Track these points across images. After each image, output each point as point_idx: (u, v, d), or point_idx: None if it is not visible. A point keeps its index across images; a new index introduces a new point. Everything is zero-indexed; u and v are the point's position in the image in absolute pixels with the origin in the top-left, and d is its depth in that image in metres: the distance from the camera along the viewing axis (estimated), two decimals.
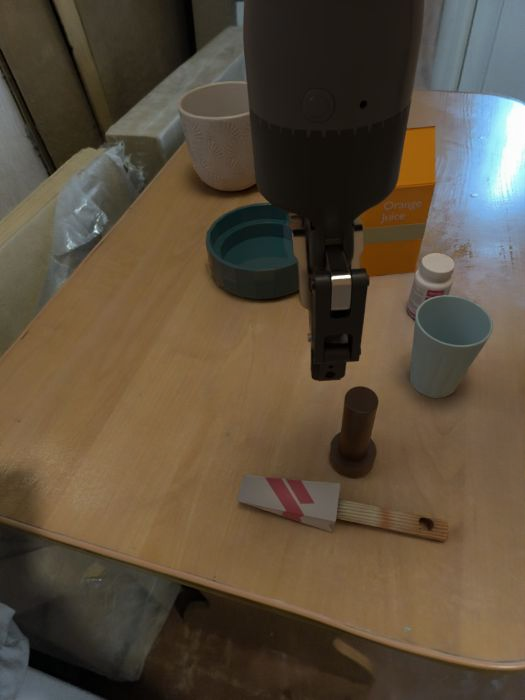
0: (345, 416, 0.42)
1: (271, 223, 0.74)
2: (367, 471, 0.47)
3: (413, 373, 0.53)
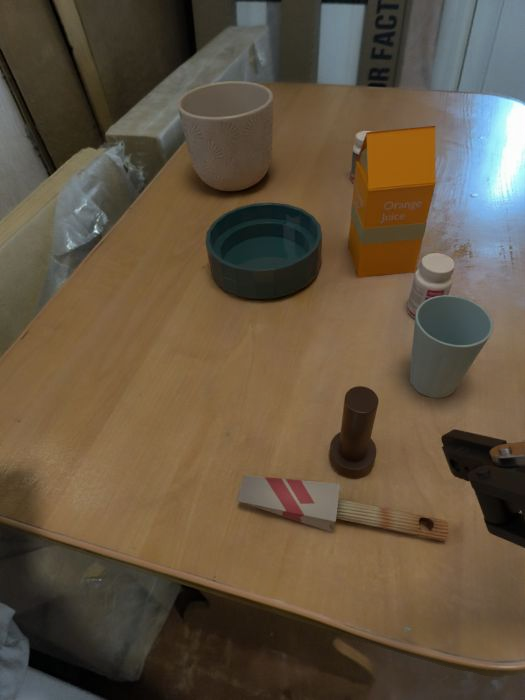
0: (345, 416, 0.42)
1: (271, 223, 0.74)
2: (367, 471, 0.47)
3: (413, 373, 0.53)
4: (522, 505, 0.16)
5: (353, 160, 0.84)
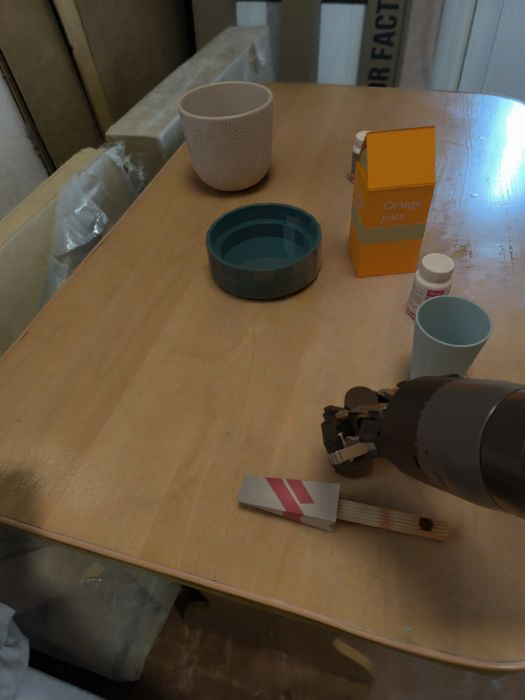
0: None
1: (271, 223, 0.74)
2: (367, 471, 0.47)
3: (413, 373, 0.53)
4: None
5: (353, 160, 0.84)
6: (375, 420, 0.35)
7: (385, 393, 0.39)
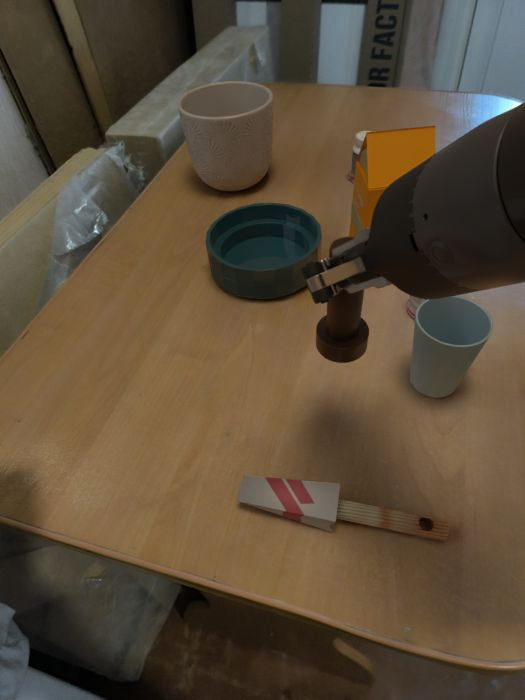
0: None
1: (271, 223, 0.74)
2: (359, 353, 0.41)
3: (413, 373, 0.53)
4: None
5: (353, 160, 0.84)
6: None
7: None
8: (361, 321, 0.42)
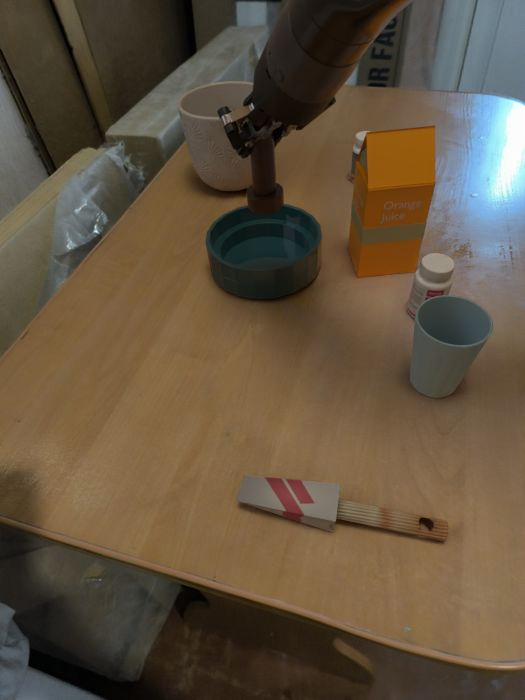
0: None
1: (271, 223, 0.74)
2: (275, 206, 0.58)
3: (413, 373, 0.53)
4: None
5: (353, 160, 0.84)
6: None
7: None
8: (278, 186, 0.59)
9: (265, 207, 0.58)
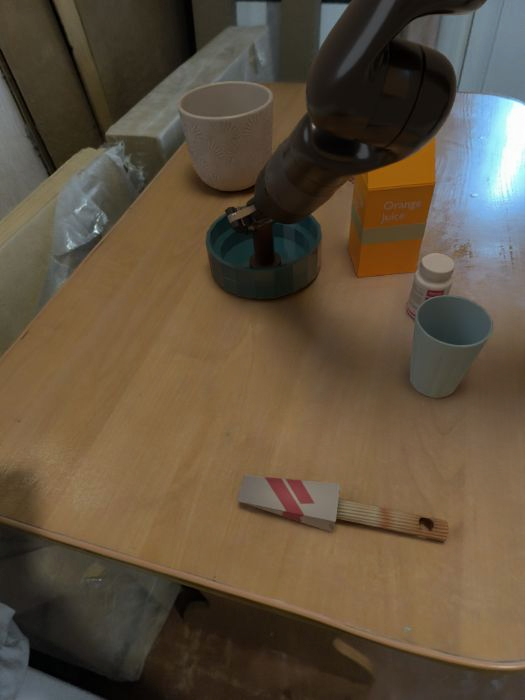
0: None
1: None
2: None
3: (413, 373, 0.53)
4: None
5: None
6: None
7: None
8: (277, 255, 0.69)
9: None
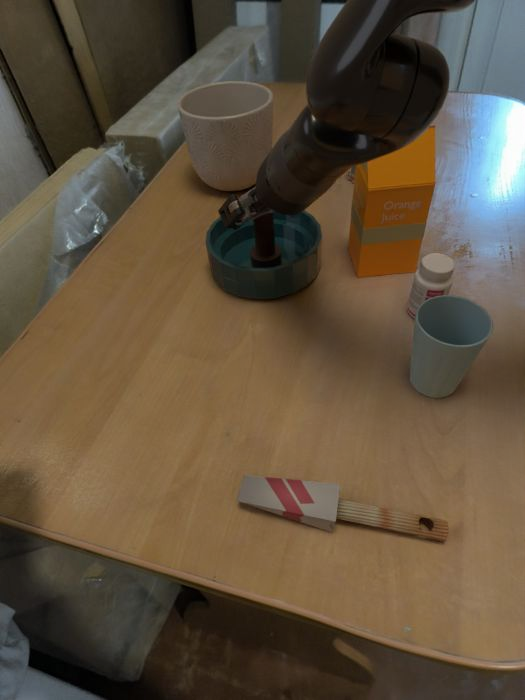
0: None
1: None
2: (274, 265, 0.69)
3: (413, 373, 0.53)
4: (223, 208, 0.58)
5: None
6: None
7: None
8: (277, 247, 0.70)
9: (266, 266, 0.69)
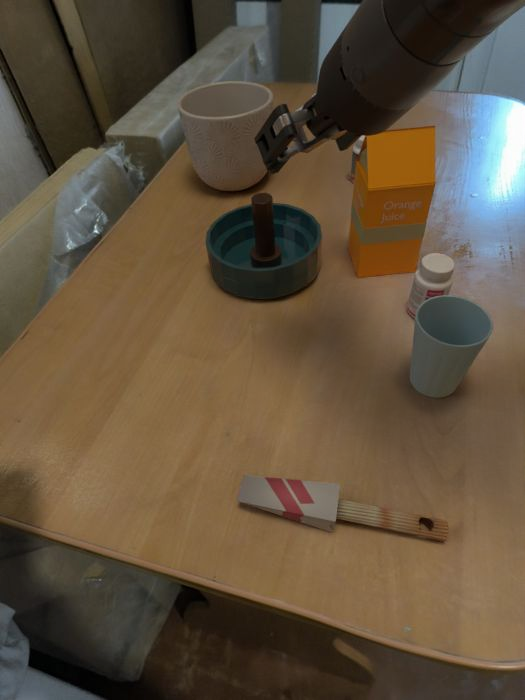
0: (252, 212, 0.64)
1: None
2: (274, 265, 0.69)
3: (413, 373, 0.53)
4: (264, 131, 0.39)
5: (353, 160, 0.84)
6: None
7: None
8: (277, 247, 0.70)
9: (266, 266, 0.69)
